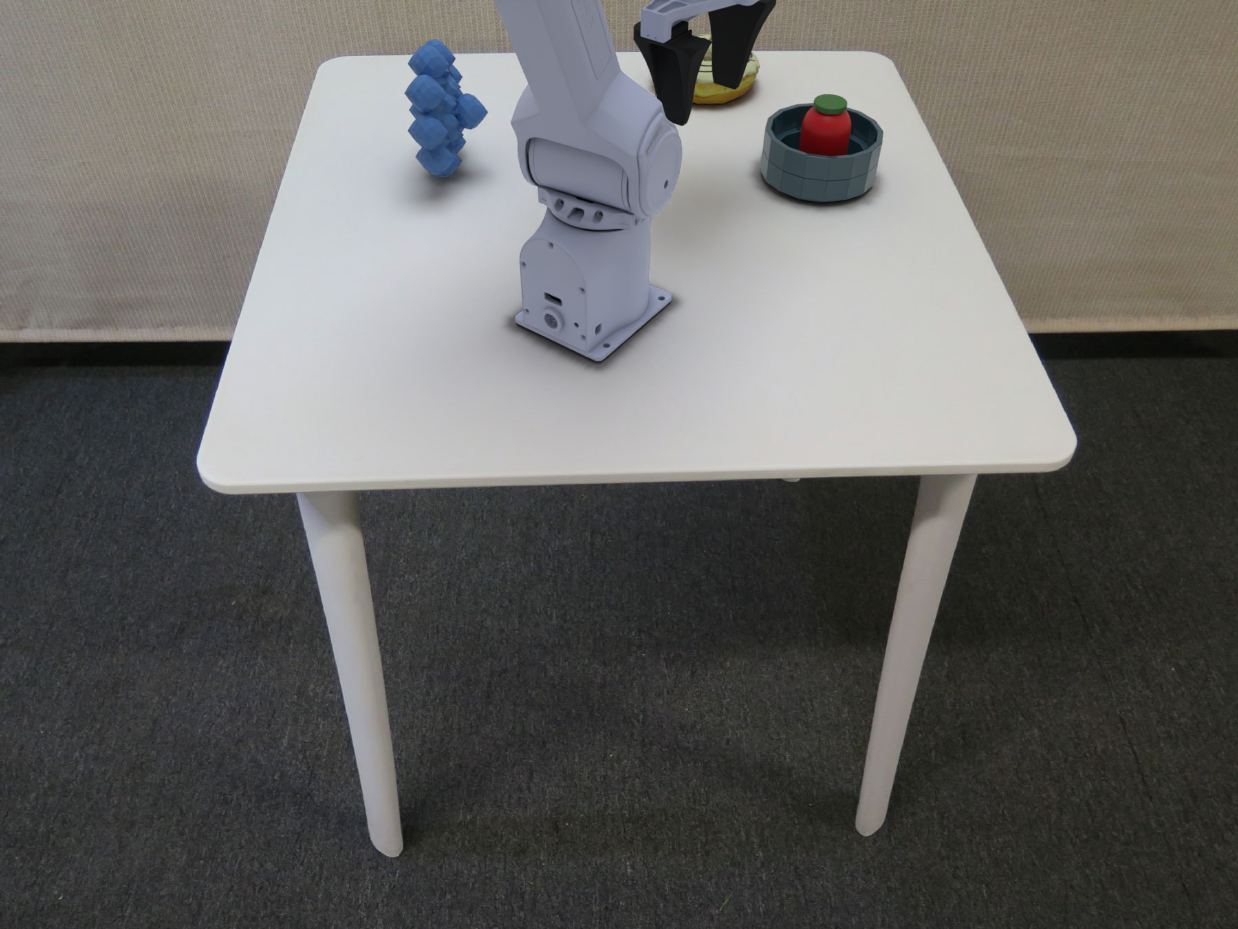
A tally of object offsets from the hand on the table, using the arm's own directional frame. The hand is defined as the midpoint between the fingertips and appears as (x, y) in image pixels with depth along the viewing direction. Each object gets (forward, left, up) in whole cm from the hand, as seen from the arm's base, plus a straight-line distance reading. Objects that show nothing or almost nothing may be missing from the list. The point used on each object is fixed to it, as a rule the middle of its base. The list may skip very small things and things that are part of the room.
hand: (700, 102), depth 78 cm
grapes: (-8, +20, -10) cm, 24 cm away
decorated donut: (+20, +12, -10) cm, 25 cm away
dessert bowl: (+11, -6, -9) cm, 16 cm away
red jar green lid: (+11, -6, -9) cm, 15 cm away
